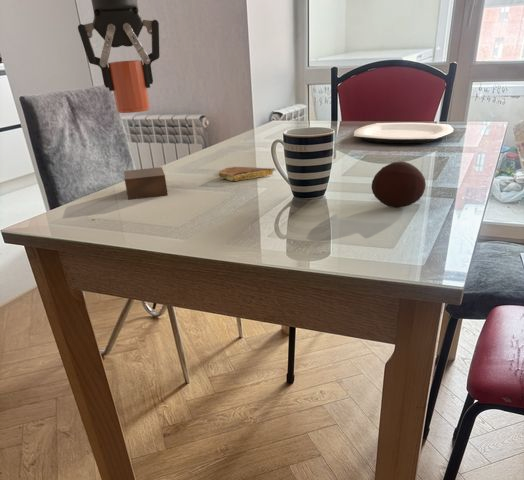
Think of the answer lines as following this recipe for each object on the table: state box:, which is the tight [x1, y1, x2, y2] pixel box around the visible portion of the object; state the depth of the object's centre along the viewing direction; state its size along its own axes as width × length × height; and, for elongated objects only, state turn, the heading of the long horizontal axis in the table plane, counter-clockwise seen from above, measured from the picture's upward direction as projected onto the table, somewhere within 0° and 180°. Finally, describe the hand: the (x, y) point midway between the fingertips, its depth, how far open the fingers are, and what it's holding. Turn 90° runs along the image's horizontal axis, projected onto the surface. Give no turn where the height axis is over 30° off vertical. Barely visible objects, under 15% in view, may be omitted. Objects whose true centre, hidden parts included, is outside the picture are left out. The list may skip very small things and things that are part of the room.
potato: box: [371, 161, 427, 209], centre depth 87 cm, size 8×9×8 cm
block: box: [123, 166, 169, 200], centre depth 106 cm, size 8×8×4 cm
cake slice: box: [218, 166, 275, 182], centre depth 113 cm, size 11×8×2 cm
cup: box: [107, 59, 151, 114], centre depth 93 cm, size 6×6×8 cm
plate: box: [353, 122, 454, 144], centre depth 144 cm, size 27×27×2 cm
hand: (129, 88), depth 93 cm, fingers closed on cup, 6 cm apart
